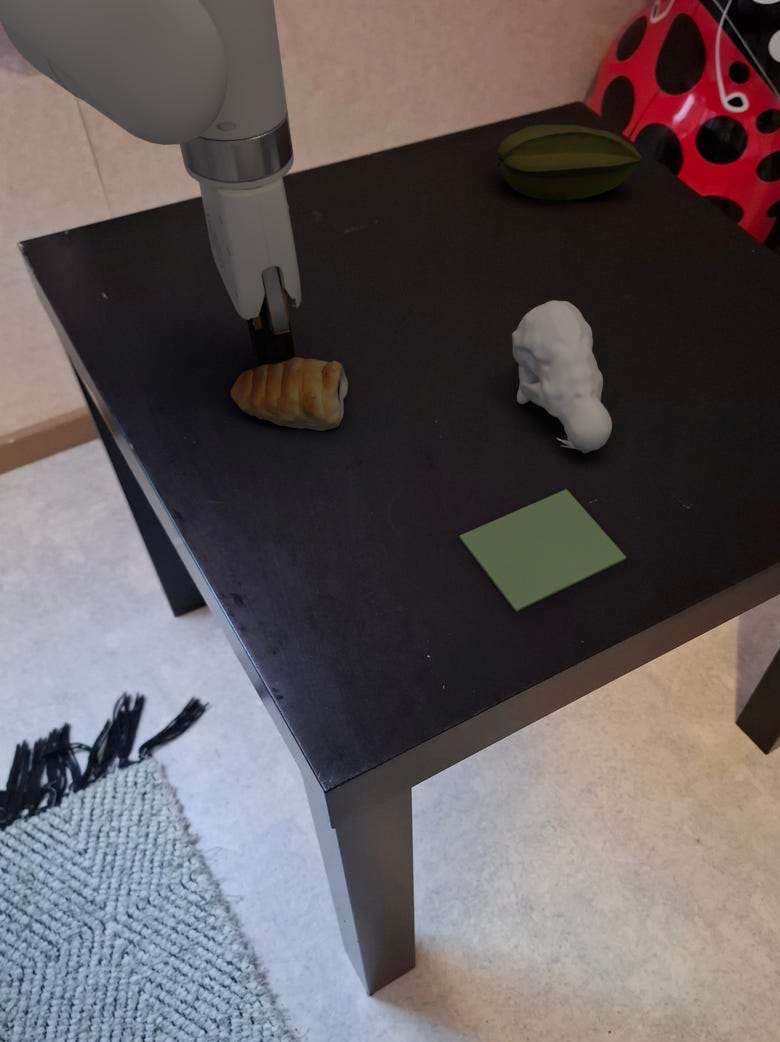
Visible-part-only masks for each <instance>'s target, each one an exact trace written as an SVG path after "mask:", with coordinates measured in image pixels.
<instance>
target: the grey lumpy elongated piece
mask: <svg viewBox="0 0 780 1042" xmlns="http://www.w3.org/2000/svg"><path fill="white" fill-rule="evenodd" d="M511 341H512V343H511V344H512V356H513V359H514V361H515V362H516V363H517V364H518V379H519V384H518V385H519V386H518V390H517V393H516V401H517V403H518V404H520V405H525V404H527V403H529V402H532V403H533V404H534V405H537V406H539V407H541V408H542V409H544V410H546V413H548V414H549V415H551V416H552V417H555V418H557V419H558V420H559V422H560V423H561V424H562V425H563V427H564V432H565V435H566V437H567V440H566V439H561V438H559V437H556V440H558V441H560V442H562V444H564V445H560V447H563V448H568V449H575V450H578V451H580V452H581V453H583V454H587V453H590V452H591V451H592V452H593V451H597V450H599V449H600V448H602V447H603V446H604V445H605V444H607V441H608V440H609V438H610V436H611V433H612V428H613V421H612V417H611V416H610V413H609V411H608V409H607V408H606V407H605V405H604V403H602V402H601V401H602V392H603V387H604V379H603V374H602V372H601V370H600V369H599V366H598V363H597V360H596V358H595V355H594V353H593V346H594V345H593V344H594V339H593V330H592V327H591V326H590V324H589V323H588V322H587V321H586V320H585V318H584V316H583V314H582V313H581V311H580V310H579V309H578V308H577V307H576V306H575V305H574V304H573V303H571V302H569V301H566V300H549V301H546V302H545V303H543V304H540V305H538V306H535V307H534V308H532V309H530V310H529V311H527V312H526V313H525V314H524V316H523V317H522V319H521V320H520V322H519V323H518V325H517V328H516V330H514V331H513V332H512V333H511Z"/></svg>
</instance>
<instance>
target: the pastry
mask: <svg viewBox="0 0 780 1042" xmlns="http://www.w3.org/2000/svg"><path fill="white" fill-rule="evenodd" d="M348 387H349V382H348V379H347V375H346V372H345V369H344V367H343V365H342V364H341V362H339V361H337V360H333V361H330V362H329V361H326V360H325V361H324V360H321V359H315V358H302V357H295V356H294V357H293V358H291V359H287V360H283V361H280V362H276V363H273V364H271V363H270V364H266V365H259V366H257V367H253V368H251V369H248V370H245V371H243V372H242V373H241V374H240V375H239V376H238V377H237V379H236V380H235V382H234V384H233V387H231V389H230V397H231V398H232V400H233V401H234V402H235V404H236V405H237V406H238V408H239V409H240V410H241V411H242V412H243V413H246V414H248V415H249V416H250V417H252V416H253V417H256V418H257V419H258V420H266V421H268V422H269V423H270V422H271V423H272V424H273V425H276V426H278V427H279V426H280V427H287V428H293V429H301V430H304V429H310V430H312V431H319V432H321V431H328V430H333V429H335V428H338V427H339V426H340V424H341V422H342V421H343V418H344V414H345V412H344V407H345V405H344V399H345V398H346V396H347V394H348V392H349V391H348Z"/></svg>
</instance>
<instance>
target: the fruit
mask: <svg viewBox="0 0 780 1042" xmlns="http://www.w3.org/2000/svg"><path fill="white" fill-rule="evenodd" d="M496 154H497V158H496V160H497V163H496V165H497V166H498V167H499V171H500V174H501V176H502V178H503V179H504V181H505V182H506V184H507V185H508V186H510V187H511V188H512V189H513V190H514V191H516V192H517V193H518V194H520V195H522V196H525V197H527V198H532V199H538V200H541V201H561V202H562V201H575V200H580V199H581V200H582V199H585V198H586V199H587V198H591V197H595V196H599V195H602V194H604V193H606V192H609V191H611V190H613V189H615V188H617V187H620V186H621V185H622V184H623V183H624V182H625V181H627V180H628V179H629V178H630V177H631V176H632V175H633V174H634V173H635V172H636V170H637V169H638V168H639V167H640V166H641V164H642V162H644V161H643V157H642V156H641V154H640V152H639V151H638V150H637V148H636V146H634V145H633V144H631V143H630V142H628V141H627V140H625V139H624V138H622V137H621V136H619V135H618V134H616V133H613V132H610V131H609V130H605V129H599V128H594V127H590V126H585V125H579V124H551V123H550V124H549V123H545V124H544V123H543V124H534V125H529V126H527V127H525V128H524V127H523V128H522V129H518V130H517V131H516V132H513V133H511V134H510V135H508V136H507V137H505V139H503V140H502V141H501V142H500V144H499V146H498V149H497V151H496Z"/></svg>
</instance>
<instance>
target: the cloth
mask: <svg viewBox="0 0 780 1042" xmlns="http://www.w3.org/2000/svg"><path fill="white" fill-rule="evenodd" d="M458 537H459V540H460V542H462V543H463V545H464V546H465V548H466V549H467V550H468V551H469V553H470V554H471V555H472V557H473V558H474V559H475V560H476V562H477V563H478V564H479V566H480V567H481V569H482V570H483V571H484V572H485V574H486V575H487V576H488V577H489V579H490V580H491V581H492V583H493V584H494V586H495V588H497V590H498V591H499V592H500V593H501V595H502V596H503V597H504V599H505V600H506V601H507V603H508V604H509V605H510V606H511V608H512V609H513V610H514V612H515V613H517V612H519V611H521V610H523V609H526V608H528V607H530V606H532V605H535V604H536V603H538V602H540V601H542V600H544V599H547V598H549V597H550V596H553V595H555V594H557V593H559V592H561V591H563V590H566V589H567V588H569V587H572V586H573V585H576V584H578V583H580V582H582V581H584V580H586V579H588V578H590V577H592V576H595V575H597V574H599V573H601V572H603V571H605V570H607V569H609V568H612V567H614V566H615V565H617V564H620V563H622V562H624V561H626V560H627V556H626V555H625V554H624V553H623V551H621V549H620V548H619V546H618V545H617V544H616V543H615V542H614V541H613V540H612V539H611V538H610V537H609V536H608V535H607V534H606V532H605V531H604V530H603V529H602V527H601V526H600V525H599V524H598V523H597V522H596V521H595V520H594V518H593V517H592V516H591V515H590V514H589V512H588V511H586V509H585V508H584V506H582V505H581V504H580V502H579V501H578V500H577V499H576V498H575V497H574V496H573V494H572V493H571V492H570V491H569V490H568V489H567V488H565V489H563V490H562V491H559V492H557V493H554V494H552V495H549V496H547V497H544V498H543V499H540V500H538V501H536V502H534V503H531V504H528V505H527V506H524V507H521V508H520V509H518V510H515V511H513V512H510V513H508V514H506V515H504V516H502V517H499V518H497V519H494V520H493V521H490V522H487V523H485V524H482V525H480V526H478V527H476V528H474V529H471V530H470V531H467V532H465V533H462V534H460V535H459V536H458Z"/></svg>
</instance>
